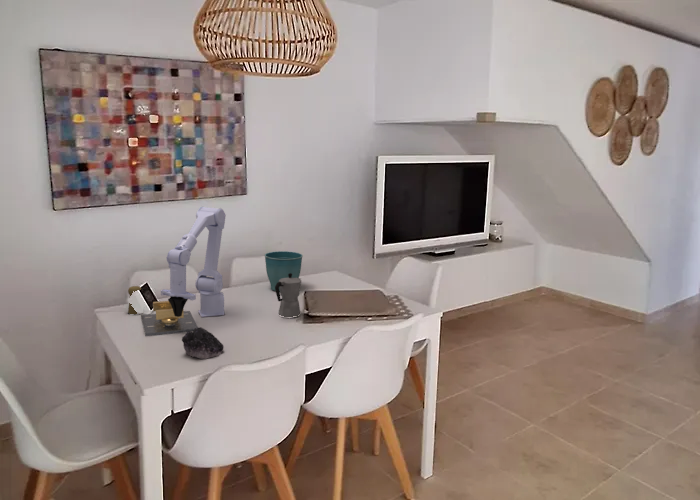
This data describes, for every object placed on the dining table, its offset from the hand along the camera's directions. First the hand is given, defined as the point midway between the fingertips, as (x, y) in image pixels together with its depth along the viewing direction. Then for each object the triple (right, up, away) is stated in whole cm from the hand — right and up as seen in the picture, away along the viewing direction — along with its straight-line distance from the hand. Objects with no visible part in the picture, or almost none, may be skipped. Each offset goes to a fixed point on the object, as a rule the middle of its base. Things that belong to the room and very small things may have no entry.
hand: (178, 315), depth 216 cm
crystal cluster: (+15, -10, -20) cm, 27 cm away
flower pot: (+33, +6, +60) cm, 69 cm away
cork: (-23, -1, +18) cm, 29 cm away
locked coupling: (-8, 0, +12) cm, 14 cm away
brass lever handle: (-4, -3, +2) cm, 5 cm away
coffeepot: (+39, -3, +21) cm, 45 cm away
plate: (-5, -4, +6) cm, 9 cm away
